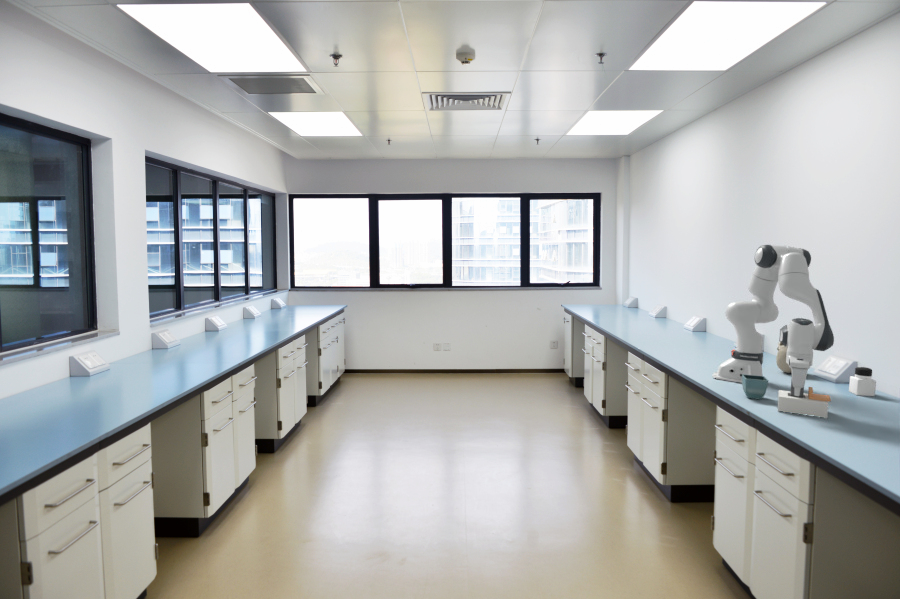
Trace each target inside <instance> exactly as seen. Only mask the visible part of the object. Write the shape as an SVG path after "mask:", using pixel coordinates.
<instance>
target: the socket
mask: <svg viewBox="0 0 900 599" xmlns="http://www.w3.org/2000/svg"><path fill="white" fill-rule="evenodd" d="M790 392H791V390H784V389H783V390H782V389H779V390H778V397H777V399H778V400H777V412H778V411H784V412H783V413H785V412H792V413H800V414H807V415H814V416H820V417H825V418H824V419H828V413H829V412H828V409H829V401H822V400H814V399H809V397H808V392H807V393H805V392H804V394H803V398H799V397H792V396H790ZM792 413H791V414H792ZM820 417H819V418H820Z"/></svg>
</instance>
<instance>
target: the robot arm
mask: <svg viewBox="0 0 900 599" xmlns="http://www.w3.org/2000/svg"><path fill="white" fill-rule="evenodd" d="M811 261H812V255H811V253H810V251H809V250H807V249H805V248H801V247H800V248H797V247H794V246H787V245H771V244H762V245H760V246H759V247H758V248H757V249H756V251H755V253H754V262H755V264H756V265H755V267H754V269H753V272H752V274H751V277H750V280H749V282H748V285H747V289H748V292H750V294H751V295H752V299H751V300H743V301H742V300H739V301H734V302H730V303H729V304H728V305H727V306H726V307H725V312H724V314H725V316H726V319H727V320H728V321H729V322H730V323H731V324H732V325H733V327H734V330H735V333H736V349H732V350H731V351H730V352H731V353H730V354H731V357H730V358H728V359H726V360H725V361H723V362H721V363H720V364H719V366H718V368H717V371H714V372H713V373H712V378H713V377H714V379H715V378H716V379H717V380H722V381H728V382H735V383H741V384H742V375H755V376H764V375H763V363H764V352H763V346H764V337H763V335H762V334H761V333H760V332H758V331H757V329H756V324H768V323H771V322H774V321H776V320H777V318H778V316H779V312H780V311H779V308H778V306H777V304H776V303H775V301H774V296H775V295H774V294H775V291H776V289H777V285H778V288H779V291H780V292H781V294H783V295H784V296H786V297H788V298H789V299H792V300H793V301H798V302H800V303H803V304H805V305H806V306H807V307H809V308H810V310H811V313H812V317H813V321H814V322H813V321H812V320H810V319H807V318H802V317H801V318H800V317H797V318H792V319H791V320H790V322H789V324H784V325H783V326H782V327H781V328H780V329H779V340H778V341H779V342H780V343H781V344H782V345H784V346H786V347H788V349H787V354H786V363H787V364H789V367H790V368H791V371H792V373H791V379H792V385H793V387H794V395H795V396H800V389H801V388H803V387H804V388H805V384H806V380H807V374H808V370H809V369H810V368H811V367H812V366H813V361H814V351H819V352H825V351H827V350H829V349H830V348H832V347H833V346H834V342H835V336H834V332H833V329H832V327H831V325H830V322H829V318H828V315H827V311H826V307H825V303H824V301H823V297H822V295H821V293H820V291H819V289H817V288H815V287H814V286H813V285H812V283H811V281H810V273H809V268H810V266H811V265H810V264H811ZM814 324H815V325H814ZM779 342H778V343H779Z"/></svg>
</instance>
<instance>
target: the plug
mask: <svg viewBox="0 0 900 599" xmlns="http://www.w3.org/2000/svg"><path fill="white" fill-rule="evenodd" d="M790 379H791V380H790V381H791V382H790V391H791V392H790V396H792V397H799V398H803V394H804V393H805V391H804V389H805V386H804V387H803V388H801V389H800V396H795V395H794V387H793V385H792V378H790Z"/></svg>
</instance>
